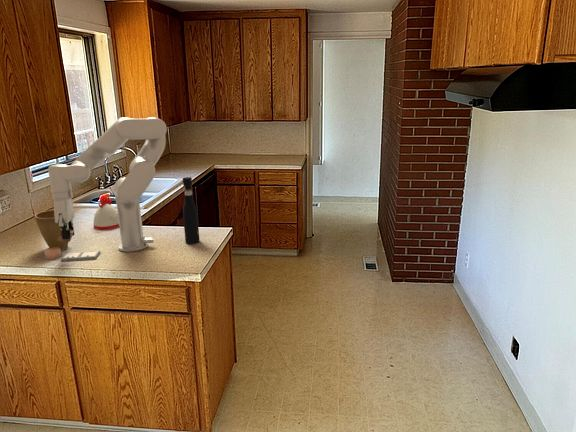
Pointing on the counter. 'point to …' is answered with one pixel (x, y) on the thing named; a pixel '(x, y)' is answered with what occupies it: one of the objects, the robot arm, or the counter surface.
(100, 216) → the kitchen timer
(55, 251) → the tan round lump
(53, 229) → the plant pot
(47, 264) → the counter surface
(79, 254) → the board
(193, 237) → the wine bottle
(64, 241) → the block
